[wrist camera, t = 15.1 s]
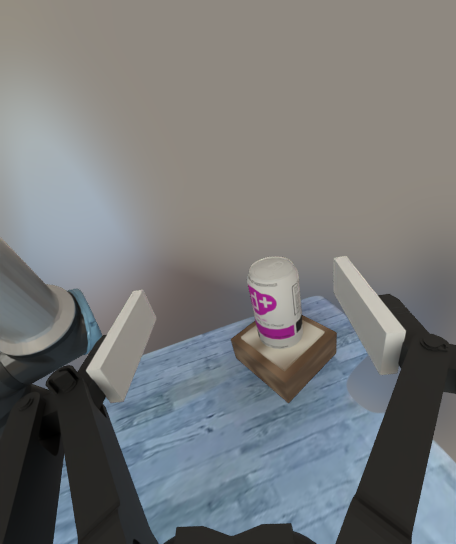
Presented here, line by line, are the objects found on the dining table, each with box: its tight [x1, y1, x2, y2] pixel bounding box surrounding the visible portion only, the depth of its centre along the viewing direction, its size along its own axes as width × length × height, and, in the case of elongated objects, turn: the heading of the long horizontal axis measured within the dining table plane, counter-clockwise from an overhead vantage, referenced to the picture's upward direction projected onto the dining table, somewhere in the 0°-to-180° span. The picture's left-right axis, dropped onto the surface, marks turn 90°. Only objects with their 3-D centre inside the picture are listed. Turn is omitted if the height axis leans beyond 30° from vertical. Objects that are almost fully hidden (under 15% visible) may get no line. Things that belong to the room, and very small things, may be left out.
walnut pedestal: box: [231, 315, 337, 403], centre depth 49 cm, size 14×14×6 cm
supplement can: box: [247, 256, 303, 349], centre depth 44 cm, size 8×8×15 cm
